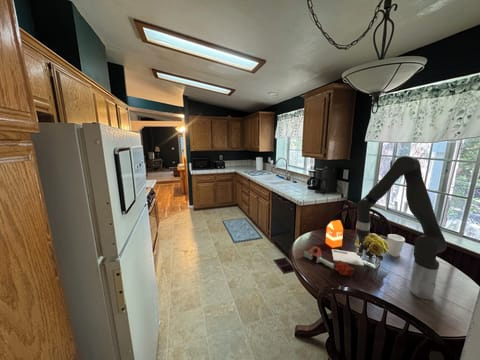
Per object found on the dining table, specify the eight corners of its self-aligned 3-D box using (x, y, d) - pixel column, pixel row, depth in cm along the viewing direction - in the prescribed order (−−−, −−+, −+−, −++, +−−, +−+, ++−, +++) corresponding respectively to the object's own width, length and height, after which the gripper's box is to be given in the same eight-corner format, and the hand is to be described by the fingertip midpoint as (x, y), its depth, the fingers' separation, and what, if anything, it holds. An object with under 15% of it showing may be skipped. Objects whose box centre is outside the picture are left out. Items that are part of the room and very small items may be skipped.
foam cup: (405, 257, 135) (408, 240, 133) (392, 258, 135) (394, 240, 133) (395, 250, 145) (397, 234, 142) (382, 250, 145) (384, 234, 142)
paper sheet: (363, 266, 128) (364, 264, 127) (333, 260, 134) (333, 259, 134) (359, 254, 140) (359, 253, 140) (331, 249, 147) (331, 248, 146)
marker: (363, 256, 130) (365, 240, 127) (356, 255, 131) (358, 239, 128) (362, 253, 133) (364, 237, 131) (355, 252, 135) (357, 236, 132)
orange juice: (325, 242, 157) (327, 219, 152) (334, 241, 159) (336, 218, 155) (332, 248, 149) (334, 223, 145) (341, 245, 152) (344, 221, 148)
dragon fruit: (331, 271, 126) (352, 280, 120) (331, 270, 119) (353, 280, 113) (335, 258, 128) (356, 266, 122) (335, 257, 121) (357, 266, 115)
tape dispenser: (335, 272, 125) (325, 252, 144) (336, 265, 124) (327, 246, 143) (307, 269, 127) (301, 250, 146) (308, 262, 125) (302, 244, 145)
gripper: (372, 233, 120) (369, 258, 124) (366, 223, 133) (363, 246, 137) (358, 231, 123) (355, 256, 126) (354, 222, 136) (351, 244, 139)
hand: (359, 251), depth 132 cm, fingers closed on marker, 3 cm apart
